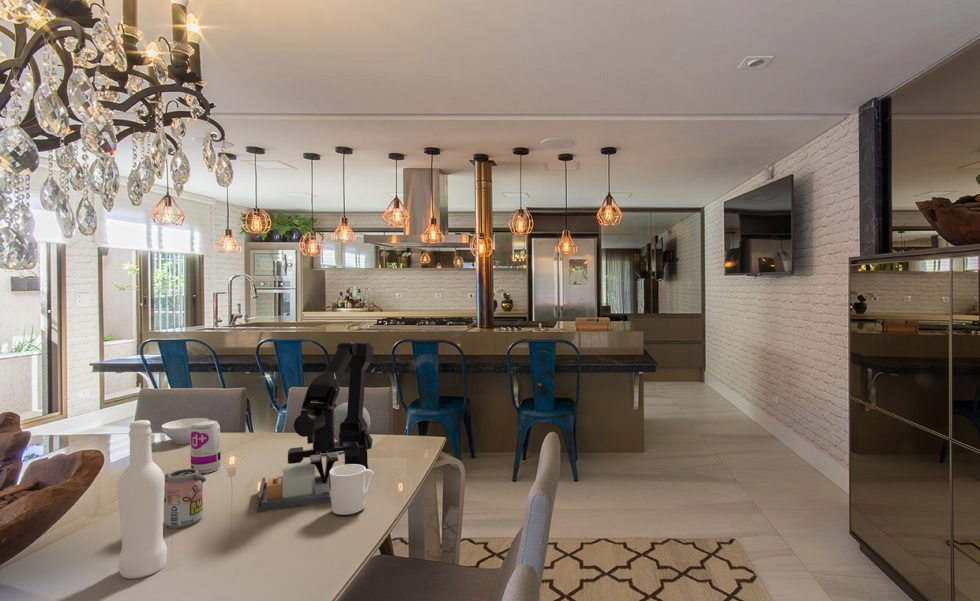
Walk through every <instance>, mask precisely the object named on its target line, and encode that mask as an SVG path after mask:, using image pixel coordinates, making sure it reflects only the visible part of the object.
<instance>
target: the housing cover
mask: <svg viewBox="0 0 980 601" xmlns="http://www.w3.org/2000/svg"><path fill="white" fill-rule="evenodd" d="M315 467H316V466H315V464H311V463H310V461H308V462H300V463H294V464H284V466H283V472H282V476H283V478H282V483H283V498H288V497H295V496H303V495H310V494H315V476H316V473H315Z"/></svg>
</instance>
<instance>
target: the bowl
mask: <svg viewBox="0 0 980 601" xmlns="http://www.w3.org/2000/svg"><path fill="white" fill-rule="evenodd" d="M206 420H210V418H209V419H208V418H203V417H193V418H191V417H190V418H183V419H182V418H181V419H176V420H172V421H169V422H165V423H162V425H161V430H162V431H163V434H165V435H166V437H167V438H169V439H171V441H173V443H175V444H176V445H188V444H190V429H191V427H192V424H193V423H196V422H200V421H206Z"/></svg>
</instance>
